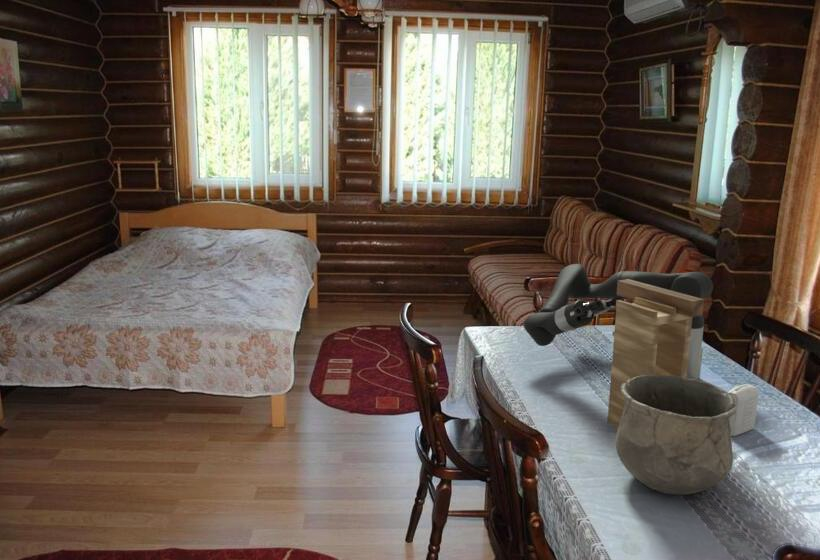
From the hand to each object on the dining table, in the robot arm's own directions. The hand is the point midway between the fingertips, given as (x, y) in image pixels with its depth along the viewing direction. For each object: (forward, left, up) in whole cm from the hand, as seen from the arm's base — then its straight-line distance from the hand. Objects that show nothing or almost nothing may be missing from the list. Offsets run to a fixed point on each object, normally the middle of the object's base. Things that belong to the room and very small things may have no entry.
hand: (612, 301), depth 190 cm
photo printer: (-16, +31, -30) cm, 46 cm away
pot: (+21, +40, -30) cm, 54 cm away
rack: (+3, +17, -29) cm, 34 cm away
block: (0, +15, +3) cm, 15 cm away
